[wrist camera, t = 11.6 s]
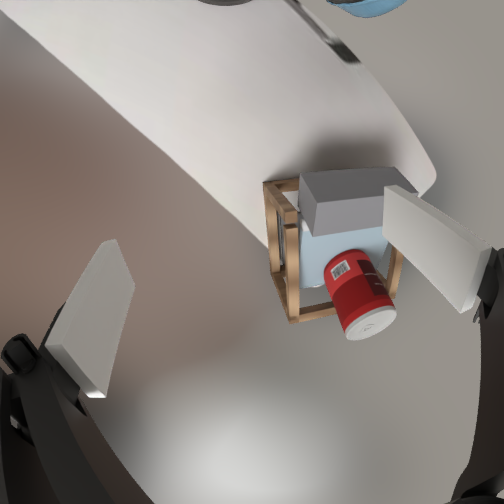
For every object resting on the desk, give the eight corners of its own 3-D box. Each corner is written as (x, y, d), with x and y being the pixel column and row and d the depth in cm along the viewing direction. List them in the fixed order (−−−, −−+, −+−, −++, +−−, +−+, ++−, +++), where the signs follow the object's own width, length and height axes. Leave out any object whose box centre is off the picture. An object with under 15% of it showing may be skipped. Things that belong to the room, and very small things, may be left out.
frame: (262, 182, 46) (284, 212, 33) (363, 172, 47) (411, 197, 35) (270, 273, 54) (289, 324, 42) (358, 257, 56) (394, 298, 43)
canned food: (316, 284, 44) (338, 345, 37) (329, 249, 38) (359, 316, 31) (357, 278, 45) (382, 334, 38) (373, 245, 40) (406, 305, 32)
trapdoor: (297, 173, 32) (314, 203, 28) (396, 166, 34) (420, 192, 30) (290, 272, 47) (300, 302, 43) (367, 258, 48) (381, 284, 44)
